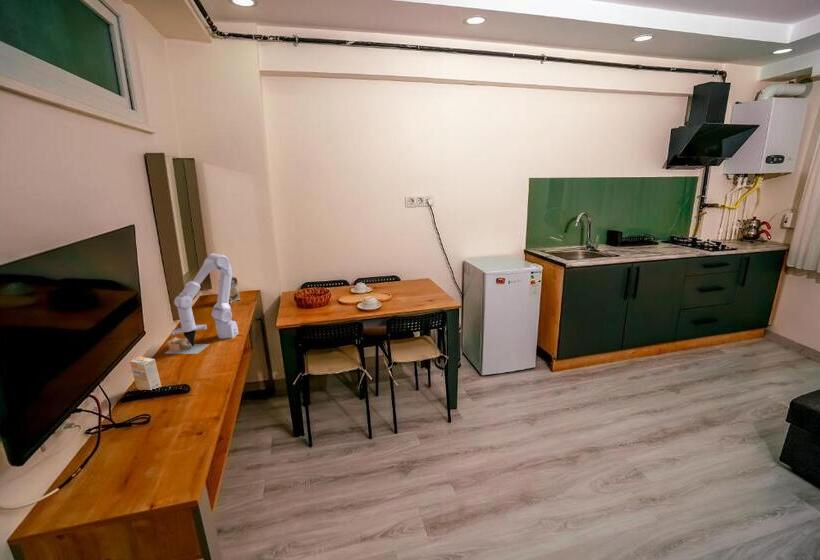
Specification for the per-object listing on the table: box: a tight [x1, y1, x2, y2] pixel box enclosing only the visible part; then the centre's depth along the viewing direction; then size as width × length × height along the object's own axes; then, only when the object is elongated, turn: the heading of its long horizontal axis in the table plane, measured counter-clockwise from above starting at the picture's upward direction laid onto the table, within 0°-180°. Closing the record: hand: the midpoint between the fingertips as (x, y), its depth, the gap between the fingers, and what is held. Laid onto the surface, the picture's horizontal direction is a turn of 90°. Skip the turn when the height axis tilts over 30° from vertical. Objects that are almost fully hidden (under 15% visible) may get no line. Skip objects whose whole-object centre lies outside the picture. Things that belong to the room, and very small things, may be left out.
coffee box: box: [218, 276, 241, 304], centre depth 247 cm, size 9×6×16 cm
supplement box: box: [129, 355, 162, 391], centre depth 149 cm, size 8×5×13 cm, turn 70°
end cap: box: [166, 336, 181, 351], centre depth 184 cm, size 6×6×4 cm
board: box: [164, 343, 211, 355], centre depth 183 cm, size 17×10×1 cm, turn 86°
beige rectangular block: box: [172, 337, 192, 348], centre depth 184 cm, size 8×3×4 cm, turn 86°
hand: (193, 345), depth 183 cm, fingers closed
